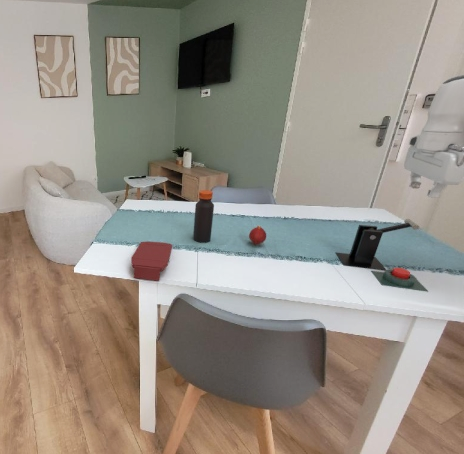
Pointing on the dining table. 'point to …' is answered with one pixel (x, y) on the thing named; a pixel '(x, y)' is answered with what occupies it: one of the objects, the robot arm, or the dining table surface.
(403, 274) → the button
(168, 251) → the red lidded container
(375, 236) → the switch bracket
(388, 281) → the button panel
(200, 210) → the vinegar
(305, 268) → the dining table surface
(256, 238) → the onion
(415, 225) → the switch lever
